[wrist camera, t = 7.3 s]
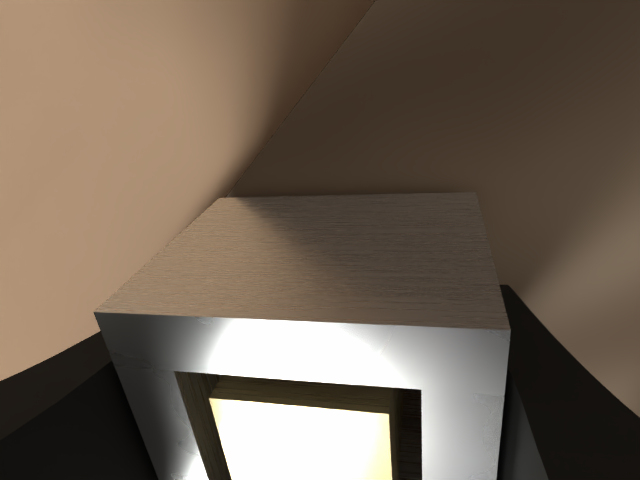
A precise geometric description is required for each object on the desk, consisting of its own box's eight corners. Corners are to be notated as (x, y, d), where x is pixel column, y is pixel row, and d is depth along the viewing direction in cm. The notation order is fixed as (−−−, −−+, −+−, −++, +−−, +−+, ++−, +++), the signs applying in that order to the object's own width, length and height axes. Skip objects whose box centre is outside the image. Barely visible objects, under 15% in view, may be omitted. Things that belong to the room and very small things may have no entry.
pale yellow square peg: (404, 249, 9) (388, 414, 6) (407, 343, 10) (395, 534, 7) (292, 249, 10) (208, 398, 6) (305, 337, 11) (241, 511, 7)
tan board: (1146, 371, 8) (1229, 413, 7) (431, 611, 17) (431, 644, 16) (595, -278, 6) (622, -324, 5) (95, 373, 15) (74, 395, 14)
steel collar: (475, 192, 8) (510, 330, 5) (465, 398, 10) (484, 599, 7) (219, 197, 9) (93, 311, 6) (259, 382, 11) (184, 546, 8)
